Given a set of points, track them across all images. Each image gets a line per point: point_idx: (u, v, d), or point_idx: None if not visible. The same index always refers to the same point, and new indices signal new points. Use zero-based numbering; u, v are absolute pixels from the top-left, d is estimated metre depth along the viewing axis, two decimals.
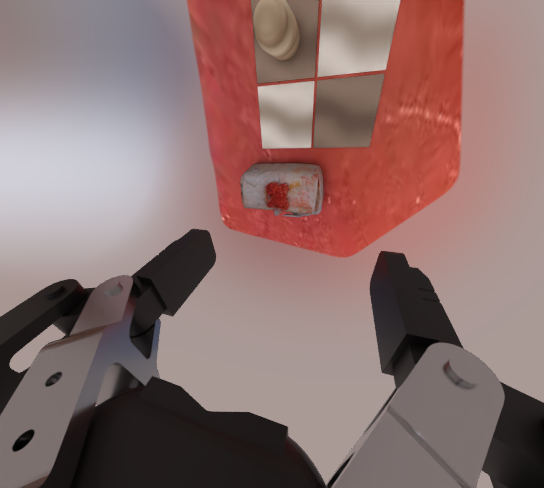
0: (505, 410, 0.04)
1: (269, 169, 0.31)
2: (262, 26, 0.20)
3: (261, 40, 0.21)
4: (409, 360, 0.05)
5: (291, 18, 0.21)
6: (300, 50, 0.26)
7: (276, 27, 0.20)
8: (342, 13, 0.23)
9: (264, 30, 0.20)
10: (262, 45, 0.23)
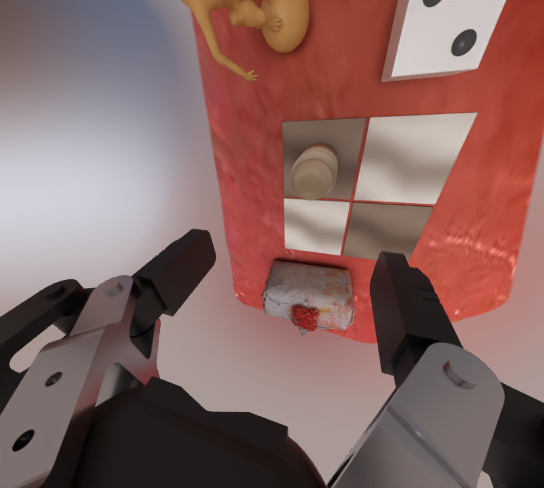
0: (505, 410, 0.04)
1: (294, 285, 0.28)
2: (304, 193, 0.17)
3: None
4: (409, 360, 0.05)
5: (336, 174, 0.18)
6: None
7: (321, 194, 0.17)
8: (389, 149, 0.20)
9: (306, 195, 0.17)
10: None
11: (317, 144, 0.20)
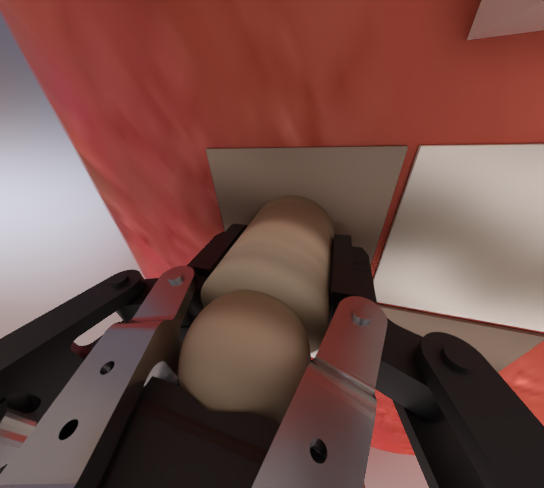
0: (391, 341, 0.05)
1: None
2: None
3: None
4: (334, 313, 0.06)
5: (325, 326, 0.06)
6: None
7: None
8: (460, 220, 0.08)
9: None
10: None
11: (283, 207, 0.08)
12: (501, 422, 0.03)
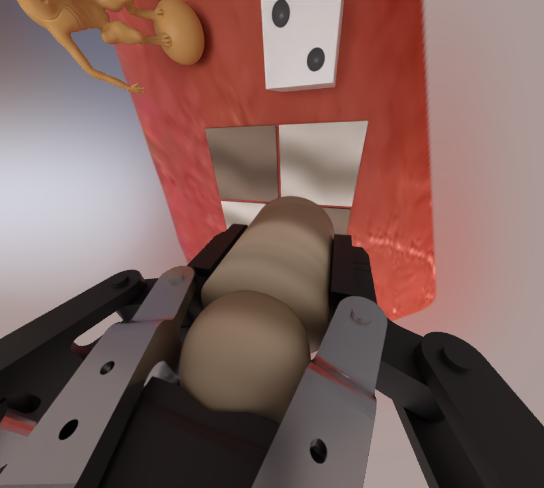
0: (391, 341, 0.05)
1: None
2: None
3: None
4: (334, 313, 0.06)
5: (325, 327, 0.06)
6: (261, 178, 0.24)
7: None
8: (301, 154, 0.21)
9: None
10: None
11: (283, 207, 0.08)
12: (501, 422, 0.03)
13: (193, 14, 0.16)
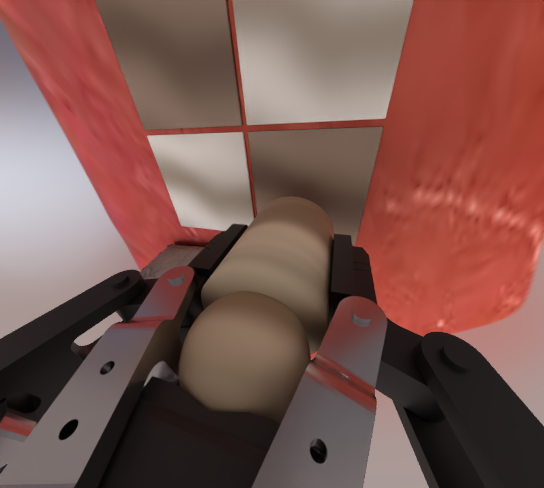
0: (391, 341, 0.05)
1: None
2: None
3: None
4: (334, 313, 0.06)
5: (325, 327, 0.06)
6: (205, 72, 0.12)
7: None
8: None
9: None
10: None
11: (283, 208, 0.08)
12: (501, 422, 0.03)
13: None
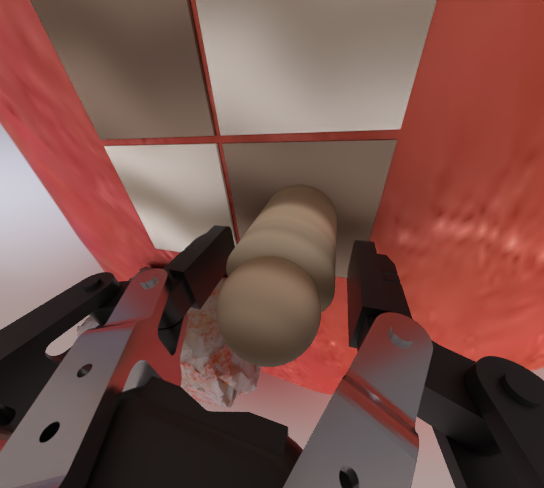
0: (436, 365, 0.04)
1: None
2: (244, 359, 0.06)
3: None
4: (366, 330, 0.05)
5: None
6: (164, 68, 0.10)
7: (290, 361, 0.06)
8: None
9: None
10: None
11: (293, 193, 0.10)
12: None
13: None
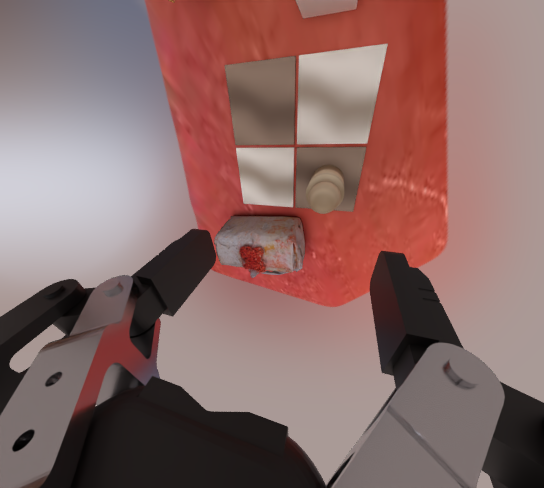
0: (505, 410, 0.04)
1: (243, 229, 0.29)
2: (318, 208, 0.21)
3: (314, 210, 0.22)
4: (409, 360, 0.05)
5: (343, 192, 0.22)
6: (278, 118, 0.25)
7: (332, 208, 0.21)
8: (320, 88, 0.22)
9: (320, 210, 0.21)
10: None
11: (326, 167, 0.25)
12: None
13: None
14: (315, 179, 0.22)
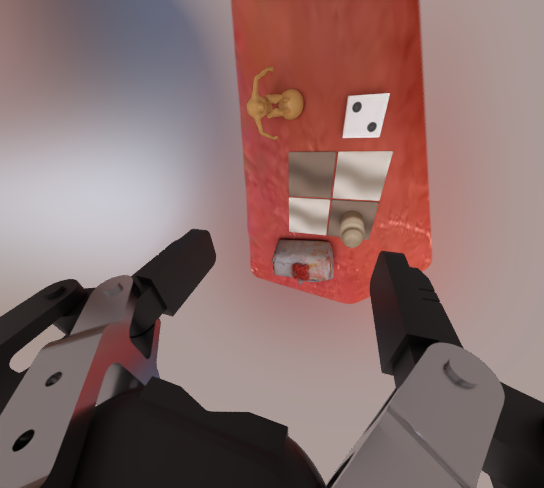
0: (505, 410, 0.04)
1: (293, 251, 0.42)
2: (349, 245, 0.35)
3: (346, 245, 0.36)
4: (409, 360, 0.05)
5: (364, 233, 0.36)
6: (320, 182, 0.38)
7: (357, 245, 0.35)
8: (350, 168, 0.35)
9: (350, 246, 0.35)
10: None
11: (352, 214, 0.38)
12: None
13: (302, 97, 0.30)
14: (346, 226, 0.36)
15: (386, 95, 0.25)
